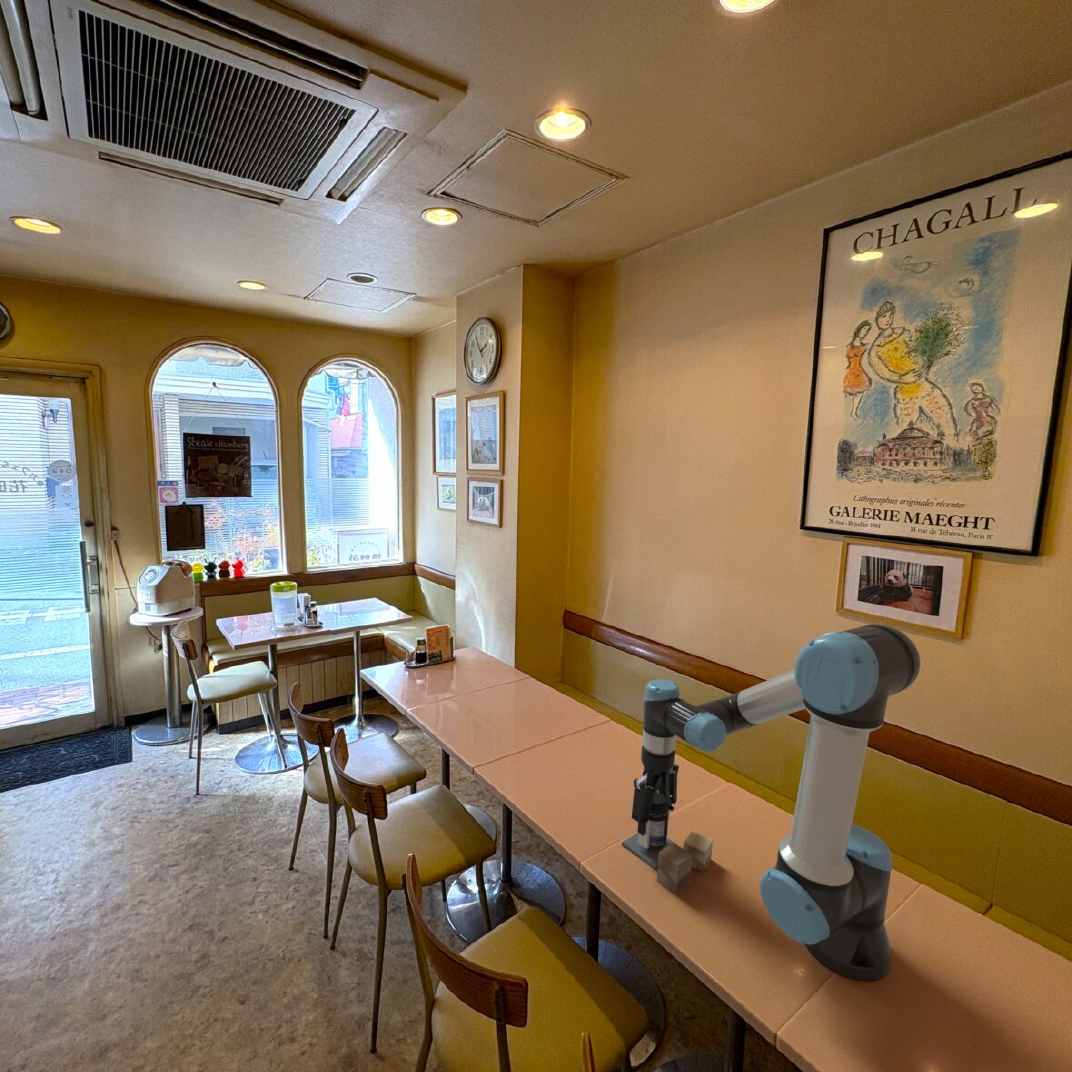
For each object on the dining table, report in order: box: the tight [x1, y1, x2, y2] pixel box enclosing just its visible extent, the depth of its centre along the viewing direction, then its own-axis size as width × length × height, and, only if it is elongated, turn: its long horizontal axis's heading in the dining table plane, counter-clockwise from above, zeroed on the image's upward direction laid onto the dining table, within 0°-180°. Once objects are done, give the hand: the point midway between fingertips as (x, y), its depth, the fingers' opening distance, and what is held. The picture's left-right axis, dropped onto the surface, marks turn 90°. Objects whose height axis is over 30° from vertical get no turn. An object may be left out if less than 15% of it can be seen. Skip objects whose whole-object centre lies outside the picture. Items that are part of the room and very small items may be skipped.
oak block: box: [682, 831, 714, 872], centre depth 130 cm, size 5×5×5 cm
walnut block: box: [656, 842, 692, 896], centre depth 123 cm, size 5×5×7 cm
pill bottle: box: [648, 792, 669, 848], centre depth 133 cm, size 6×6×11 cm
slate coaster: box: [621, 832, 683, 870], centre depth 134 cm, size 10×10×1 cm
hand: (652, 839), depth 133 cm, fingers closed on pill bottle, 6 cm apart
